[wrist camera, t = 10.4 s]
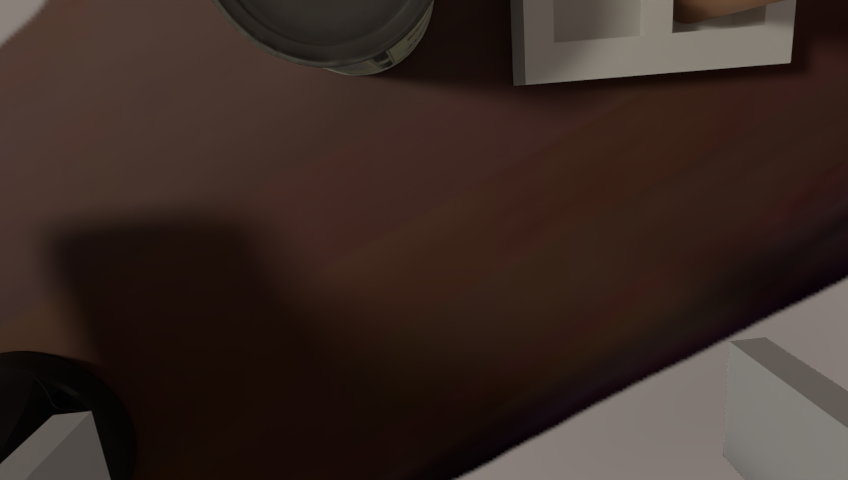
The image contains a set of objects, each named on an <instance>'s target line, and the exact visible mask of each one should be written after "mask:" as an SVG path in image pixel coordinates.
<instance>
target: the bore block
mask: <svg viewBox="0 0 848 480" xmlns="http://www.w3.org/2000/svg"><path fill="white" fill-rule="evenodd" d="M510 6H511V34H512V61H513V86H518V85H530V84H542V83H554V82H566V81H578V80H590V79H602V78H614V77H626V76H638V75H650V74H662V73H674V72H687V71H699V70H711V69H723V68H735V67H747V66H759V65H771V64H783V63H791V53H792V41H793V30H794V19H795V8H796V0H784V1H780V2H776V3H772V4H768V5H764V6H760V7H756V8H752V9H748V10H744V11H740V12H736V13H732V14H728V15H724V16H720V17H716V18H712V19H708V20H704V21H700V22H696V23H691V24H684V23H679V22H677V21H675V20H673V0H510Z"/></svg>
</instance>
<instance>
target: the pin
mask: <svg viewBox="0 0 848 480" xmlns="http://www.w3.org/2000/svg"><path fill="white" fill-rule="evenodd" d="M780 1H784V0H673V20H675V21H677V22H679V23H684V24H691V23H696V22H700V21H704V20H708V19H712V18H716V17H720V16H724V15H728V14H732V13H736V12H740V11H744V10H748V9H752V8H756V7H760V6H764V5H768V4H772V3H776V2H780Z"/></svg>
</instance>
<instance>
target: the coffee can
mask: <svg viewBox="0 0 848 480" xmlns="http://www.w3.org/2000/svg"><path fill="white" fill-rule="evenodd" d="M212 1H213V3H214V4H215V6H216V7H217V9H218V10H219V11H220V13H221V14H222V15H223V16H224V17H225V19H226V20H227V21H228V22H229V23H230V24H231V25H232V26H233V27H234V28H235V29H236V30H237V31H238V32H239V33H240V34H242V35H243V36H244V37H245V38H246V39H248V40H249V41H250V42H252V43H253V44H254V45H256V46H257V47H259V48H261V49H262V50H264V51H266V52H268V53H269V54H271V55H274V56H276V57H279V58H281V59H284V60H286V61H289V62H293V63H297V64H300V65H305V66H312V67H323V68H325V69H327V70H330V71H333V72H336V73H340V74H345V75H351V76H359V75H370V74H375V73H379V72H382V71H384V70H387V69H389V68H391V67H393V66H394V65H396V64H398V63H399V62H401V61H402V60H403V59H404V58H406V57H407V56H408V55H409V54H410V53H411V52H412V51H413V50H414V48H415V47H416V46H417V44H418V43H419V41H420V40H421V38H422V37H423V35H424V33H425V31H426V29H427V26H428V24H429V21H430V18H431V14H432V10H433V3H434V0H212Z"/></svg>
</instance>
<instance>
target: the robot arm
mask: <svg viewBox="0 0 848 480" xmlns="http://www.w3.org/2000/svg"><path fill="white" fill-rule="evenodd" d="M723 456H724V457H725V459H726V460H727V461H728V462H729V463H730V464H731V465H732V466H733V467H734V468H735V470H736V471H737V472H738V473H739V474H740V475H741V476H742V477H743V478H744V479H745V480H848V391H847V390H845V389H844V388H842V387H841V386H839V385H838V384H836V383H834V382H833V381H831V380H829V379H828V378H827V377H825V376H824V375H822V374H821V373H819V372H817V371H816V370H814V369H813V368H811V367H810V366H808V365H807V364H805V363H804V362H802V361H801V360H799V359H797V358H796V357H795V356H793V355H791V354H790V353H788V352H787V351H785V350H784V349H782V348H781V347H779V346H778V345H776V344H774V343H773V342H771V341H770V340H768V339H767V338H756V339H746V340H737V341H729V352H728V371H727V391H726V408H725V426H724V445H723ZM135 460H136V441H135V435H134V431H133V428H132V425H131V422H130V420H129V417H128V415H127V413H126V412H125V410H124V408H123V407H122V405H121V404H120V402H119V401H118V399H117V398H116V397H115V396H114V394H113V393H112V392H111V391H110V390H109V389H108V388H107V387H106V386H105V385H104V384H103V383H101V382H100V381H99V380H98V379H97V378H95V377H94V376H93V375H91V374H90V373H88V372H87V371H85V370H83V369H81V368H80V367H78V366H76V365H74V364H72V363H69V362H67V361H65V360H62V359H59V358H56V357H52V356H49V355H44V354H39V353H31V352H7V353H0V480H130V477H131V475H132V472H133V469H134V465H135Z"/></svg>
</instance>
